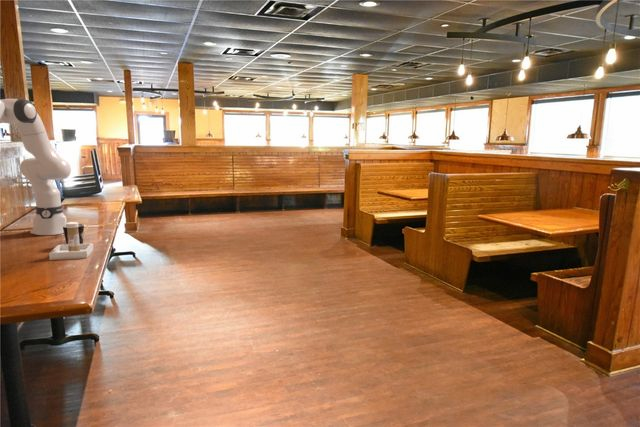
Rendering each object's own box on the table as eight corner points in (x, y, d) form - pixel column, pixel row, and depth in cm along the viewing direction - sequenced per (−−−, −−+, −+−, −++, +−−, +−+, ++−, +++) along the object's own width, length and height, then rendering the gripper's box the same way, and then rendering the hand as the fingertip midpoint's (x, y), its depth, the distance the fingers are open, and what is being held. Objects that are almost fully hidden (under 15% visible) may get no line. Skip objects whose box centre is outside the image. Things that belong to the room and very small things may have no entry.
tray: (58, 251, 192) (58, 244, 192) (93, 249, 197) (93, 243, 196) (49, 260, 179) (49, 253, 179) (87, 258, 183) (86, 251, 183)
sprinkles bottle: (66, 253, 187) (63, 223, 185) (75, 250, 191) (73, 221, 189) (73, 254, 185) (70, 224, 183) (82, 252, 189) (80, 222, 187)
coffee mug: (76, 249, 196) (74, 228, 194) (59, 248, 198) (58, 226, 196) (94, 243, 207) (92, 223, 205) (78, 242, 209) (77, 221, 207)
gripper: (-35, 177, 162) (10, 176, 168) (-22, 172, 179) (18, 172, 186) (-33, 194, 163) (11, 192, 169) (-21, 187, 180) (19, 186, 187)
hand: (15, 181), depth 177 cm, fingers open, 8 cm apart
